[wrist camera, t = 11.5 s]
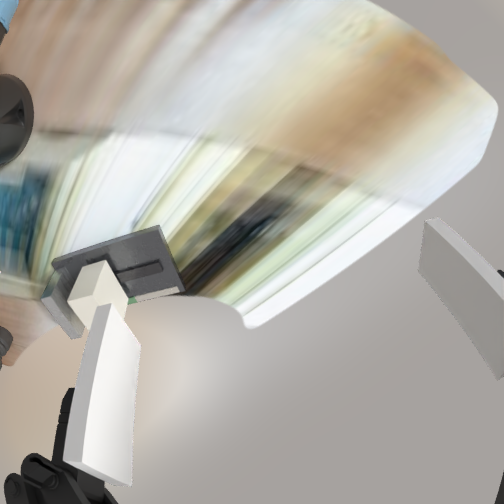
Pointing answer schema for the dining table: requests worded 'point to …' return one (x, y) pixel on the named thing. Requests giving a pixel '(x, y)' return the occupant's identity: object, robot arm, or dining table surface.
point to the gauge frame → (115, 273)
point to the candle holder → (4, 342)
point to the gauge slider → (96, 292)
